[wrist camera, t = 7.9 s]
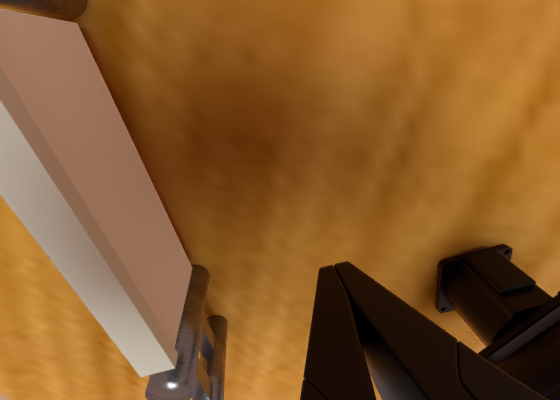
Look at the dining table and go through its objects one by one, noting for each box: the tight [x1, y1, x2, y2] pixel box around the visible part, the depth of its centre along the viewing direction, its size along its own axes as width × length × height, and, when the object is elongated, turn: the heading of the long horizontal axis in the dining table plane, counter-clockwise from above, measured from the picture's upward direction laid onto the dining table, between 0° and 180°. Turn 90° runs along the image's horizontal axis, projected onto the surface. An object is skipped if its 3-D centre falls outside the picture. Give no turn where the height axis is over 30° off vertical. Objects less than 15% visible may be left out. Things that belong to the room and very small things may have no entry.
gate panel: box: [0, 8, 192, 377], centre depth 14 cm, size 16×3×8 cm, turn 12°
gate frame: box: [0, 0, 227, 400], centre depth 15 cm, size 33×2×9 cm, turn 12°
